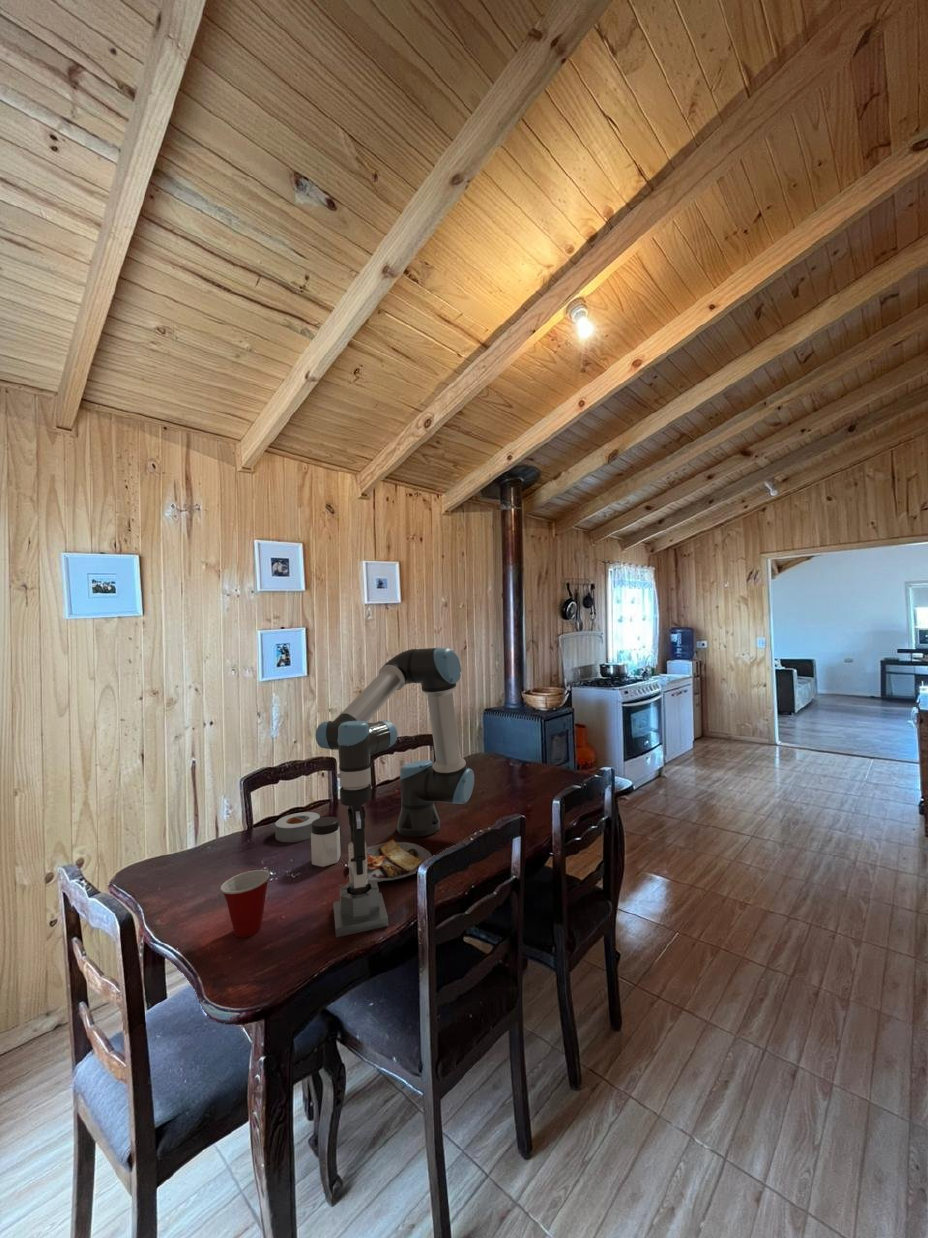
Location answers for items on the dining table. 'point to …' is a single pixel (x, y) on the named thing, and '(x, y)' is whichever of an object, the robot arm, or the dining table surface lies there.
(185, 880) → the dining table surface
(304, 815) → the tape roll
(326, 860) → the jar
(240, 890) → the plastic cup
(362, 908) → the valve body
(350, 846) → the pipe stub
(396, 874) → the food plate
